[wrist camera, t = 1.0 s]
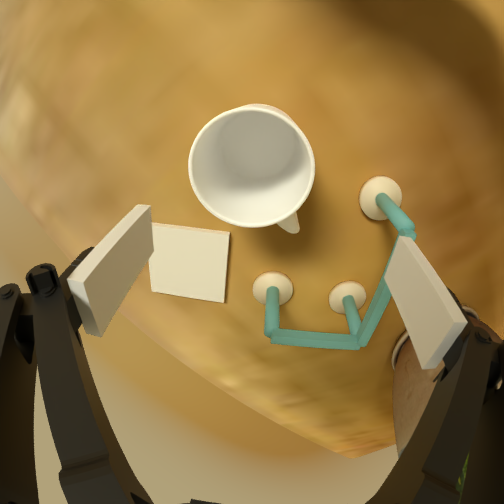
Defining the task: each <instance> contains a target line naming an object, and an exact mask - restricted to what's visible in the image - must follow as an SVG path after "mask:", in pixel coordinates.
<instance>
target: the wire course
mask: <svg viewBox="0 0 504 504" xmlns="http://www.w3.org/2000/svg"><path fill="white" fill-rule="evenodd" d="M401 201H402V193H401V190H400V188H399V186H398V185H397V183H396V182H394V181H393V180H392V179H391V178H389V177H386V176H375V177H372V178H370V179H369V180H367V181H366V182H365V183H364V184H363V186H362V187H361V190H360V192H359V204H360V207H361V209H362V210H363V211H364V213H365V214H366V215H367V216H368V217H369V218H371V219H374V220H385V219H389V220H390V221H391V223H392V224H393V225H394V227H395V228H396V229H397V230H398V232H399V233H398V236H397V239H396V242H395V244H394V247H393V250H392V252H391V255H390V258H389V260H388V263H387V266H386V268H385V271H384V273H383V276H382V278H381V280H380V283H379V285H378V288H377V290H376V292H375V295H374V297H373V299H372V301H371V304H370V306H369V308H368V310H367V312H366V315H365V317H364V319H363V321H362V323H361V320H360V316H359V313H358V309H359V308H361V307H362V305H363V304H364V302H365V300H366V293H365V290H364V288H363V286H362V285H361V284H360V283H358V282H356V281H344V282H341V283H339V284H337V285H336V286H335V287H334V288H333V289H332V290H331V292H330V294H329V303H330V306H331V308H332V309H333V310H334V311H335V312H337V313H341V314H346V318H347V322H348V326H349V330H350V334H351V335H349V334H334V333H322V332H310V331H299V330H290V329H280V328H279V305H282V304H284V303H286V302H287V301H288V300H289V299H290V298H291V296H292V293H293V286H292V282H291V280H290V278H289V277H288V276H287V275H285V274H283V273H281V272H277V271H268V272H265V273H262V274H261V275H259V276H258V277H257V278H256V279H255V281H254V284H253V295H254V297H255V298H256V300H257V301H259V302H260V303H262V304H264V305H266V309H265V328H264V334H265V335H266V336H267V337H269V338H271V344H281V345H291V346H302V347H314V348H329V349H346V350H359V349H360V347H366V345H367V343H368V341H369V340H370V338H371V336H372V334H373V332H374V330H375V328H376V326H377V324H378V322H379V320H380V319H381V317H382V315H383V312H384V310H385V308H386V306H387V304H388V302H389V300H390V298H391V296H392V294H391V292H390V290H389V288H388V285H387V283H386V281H385V279H384V276H385V273H386V271H387V268H388V265H389V263H390V260H391V257H392V255H393V252H394V249H395V246H396V243H397V241H398V238H399V236H405V237H410V238H411V239H412V240H413V241H415V239H416V236H417V235H416V233H415V232H414V229H415V225H414V223H413V222H412V221H411V220H410V219H409V217H408V216H407V215H406V214H405V213H404V212H403V211H402V210H401V209H400V208H399V207H400V205H401Z"/></svg>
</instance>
